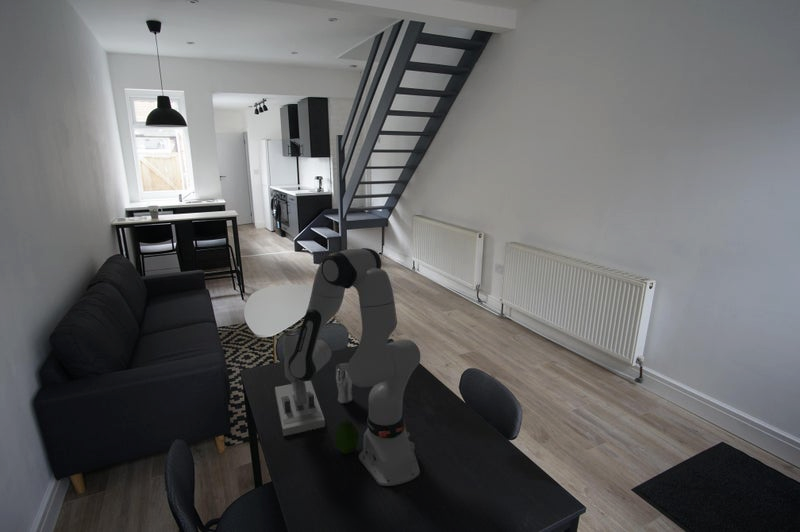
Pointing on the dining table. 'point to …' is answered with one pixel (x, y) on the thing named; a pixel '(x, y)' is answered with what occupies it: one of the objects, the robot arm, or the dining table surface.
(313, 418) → the breaker panel
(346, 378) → the beer glass
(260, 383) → the dining table surface
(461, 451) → the dining table surface
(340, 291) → the robot arm
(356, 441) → the avocado
